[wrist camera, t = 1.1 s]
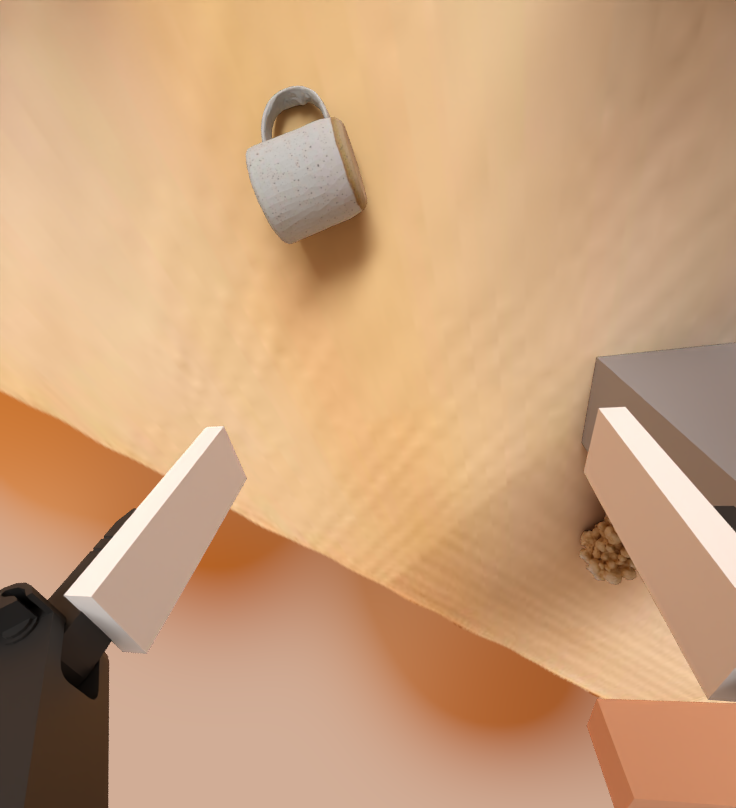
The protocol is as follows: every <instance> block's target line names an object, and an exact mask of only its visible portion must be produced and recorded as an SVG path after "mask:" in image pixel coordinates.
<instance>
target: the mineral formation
mask: <svg viewBox="0 0 736 808" xmlns="http://www.w3.org/2000/svg"><path fill="white" fill-rule="evenodd" d="M581 545H582V546H585V547H586V549H584V548H582V550H581V551H580V554H579V557H580V558H582V559H584V560H585V562H586V563H588V564H589V565H587V566H586V569H588V570H589V571H590V572H591V573H592V574H593V576H594V577H595V579H596V580H603V581H605V580H607V581H608V582H609V583H610V584H615V585H617V584H619V583H620V582H621V580H622V577H623V578H625V579H627V580H633V579H634V578H636V572H635V570H637V569H636V567H635V565H634V563H633V562H632V560H631V558H630V556H629V554H628V553H627V551H626V549H625V547H624V545H623V543H622V542H621V540H620V538H619V536H618V534H617V532H616V531H615V529H614V527H613V525H612V523H611V521H610V520H609V518H608V516H607V514H606V515H605V517H604V522H600V523H599V524H595V529H593V531H584V532H583V533H582V535H581Z"/></svg>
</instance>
